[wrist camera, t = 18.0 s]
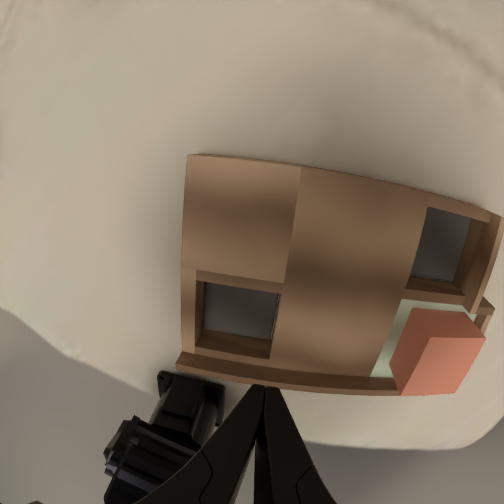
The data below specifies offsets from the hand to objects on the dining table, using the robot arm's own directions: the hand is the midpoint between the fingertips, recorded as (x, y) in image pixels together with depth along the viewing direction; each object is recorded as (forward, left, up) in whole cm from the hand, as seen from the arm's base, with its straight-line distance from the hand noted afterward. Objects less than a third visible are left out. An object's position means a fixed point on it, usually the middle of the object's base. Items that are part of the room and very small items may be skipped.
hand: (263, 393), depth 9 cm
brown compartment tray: (-1, -5, -12) cm, 13 cm away
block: (-4, -12, -10) cm, 16 cm away
